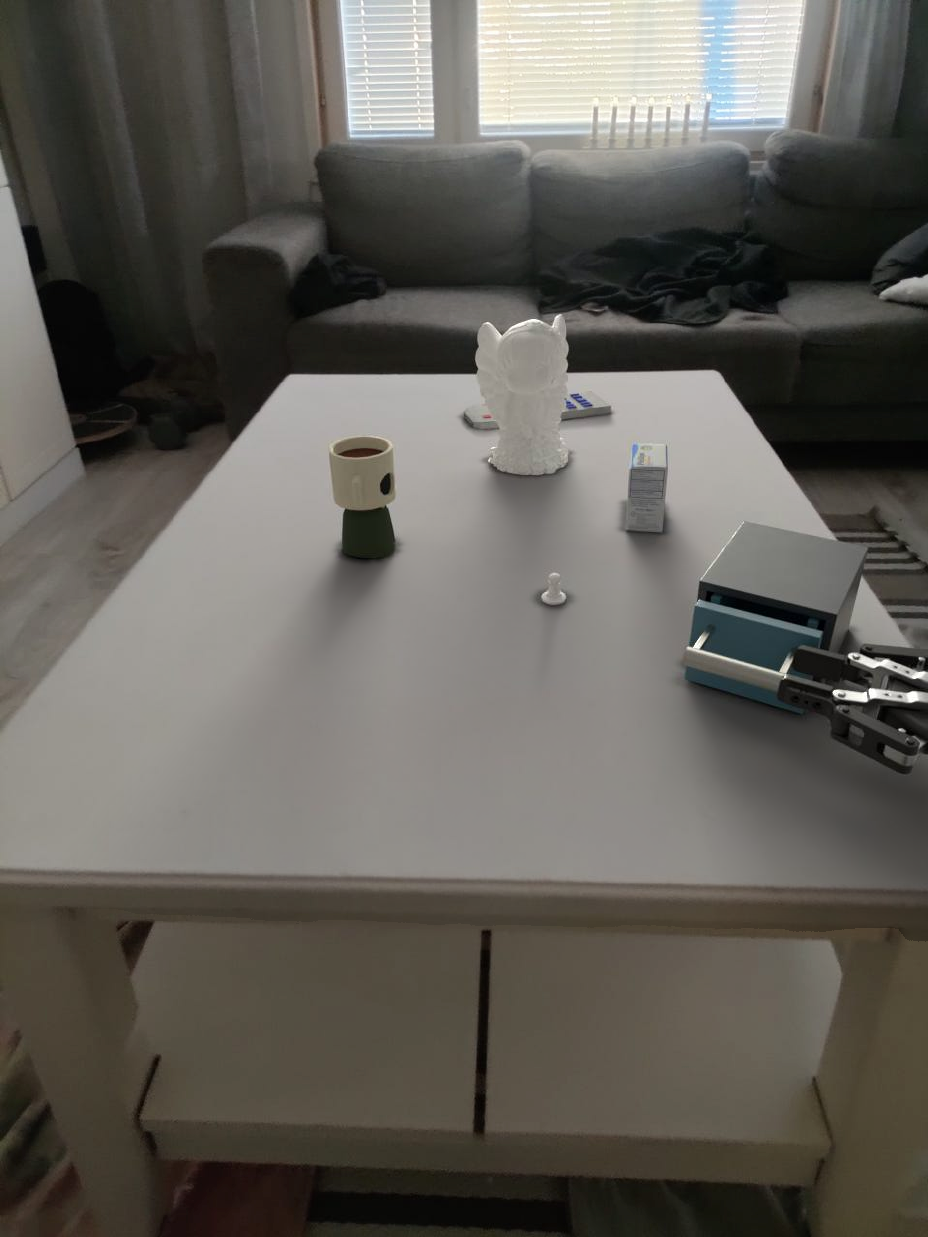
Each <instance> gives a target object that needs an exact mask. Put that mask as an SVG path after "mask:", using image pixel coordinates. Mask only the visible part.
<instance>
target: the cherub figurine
mask: <svg viewBox="0 0 928 1237" xmlns="http://www.w3.org/2000/svg"><path fill="white" fill-rule="evenodd" d="M566 337H567V324H566V320H565V317H564V315H563V314H558V315H556V316H555V317H554V319H553V322H552V325H550V324H548V323H547V322H544V321H542V320H540V319H535V318H533V319H527V320H525V321H522V322H520V323H517V324H514V325H513V326H511V327H510V328H508V330H506V331H505V332H504V333H503V334H501V333H500V332H499V331H498V330H497V328H496V327H495V326H494V325H493V324H492V323H490V322H483V323H482V324H481V326H480V328H479V329H478V332H477V338H476V340H477V345H478V347H477V349H476V351H475V357H474V360H475V364H476V367H477V371H476V376H475V377H476V381H477V382H476V383H477V384H478V385H479V386H480V387H479V393H480V396H481V398H483V399H484V404H485V405H486V407H487V409H488V410H489V411H490V416H491V418H492V419H493V420H494V421H496V422H497V424H498V427H499V430H498V435H499V440H498V442H497V446H495V447H491V448H490V452H491V453H492V457H489V458H488V464H491V465H493V467H495V468H496V469H497V470H498V471H500V472H506V473H507V474H508V473H509V474H514V475H521V476H529V475H532V476H542V475H543V474H547V475H551V474H554V473H556V471H557V470H558V469H560V468H564V467H565V466H566V465H567V463H569V459H568V457H569V456H568V455H569V450H568V447H567V443H566V442H564V440H565V439H564V437H561V435H560V431H561V429H560V427H559V423H561V422H562V420H561V417H560V416H561V411H562V410H564V409H565V408H566V401H565V397H566V396H567V394H569V389H568V387H567V383H568V380H569V375H568V373H567V371H568V367H569V363H568V359H567V357H568V354H569V351H570V348H569V344H568V341H567V339H566Z"/></svg>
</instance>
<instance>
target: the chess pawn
mask: <svg viewBox="0 0 928 1237" xmlns="http://www.w3.org/2000/svg"><path fill="white" fill-rule="evenodd" d="M547 579H548V580H547V584H548V585H549V587H548V589H547V590H546V591H545V592H543V593H542V594H541V601H542V602H543V603H545V604H547V605H551V606H558V605H562V604H563V603H565V602H566V601H567V600H566V599H567V595H566V594H565V592H562V590H561V589H560V587H559V586H560V585H561V580H562V579H561V575H560V574H559V573H557V572H552V573H550V574H549V575H548V578H547Z"/></svg>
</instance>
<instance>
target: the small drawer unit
mask: <svg viewBox="0 0 928 1237" xmlns="http://www.w3.org/2000/svg"><path fill="white" fill-rule="evenodd" d="M868 552H869V546H866V545H865V546H864V545H860V544H856V543H851V542H846V541H841V540H836V539H831V538H826V537H821V536H817V535H812V534H808V533H802V532H797V531H794V530H789V529H783V528H780V527H779V528H778V527H775V526H770V525H764V524H760V523H757V522H756V523H755V522H751V521H746V520H744V521H743V522H742V523H741V525H740V526H739V527H738V529H737V530H736V531H735V532H734V534H733V535H732V537H731V538H730V539H729V541H728V542H727V543H726V544H725V546H724V547H723V549H722V550H721V551H720V552H719V554H718V556H717V557H716V558H715V559H714V561H713V562H712V563H711V565H710V566H709V567H708V569H707V570H706V571H705V573H704V574H703V576H702V577H701V578H700V579H699V582H698V590H697V597H696V603H697V602H698V601H699V600H702V601H706V602H710V603H711V597H712V595H713V594H714V593H719V594H723V595H727V596H731V597H735V598H739V599H743V600H747V601H751V602H755V603H759V604H763V605H767V606H771V607H775V608H779V609H783V610H787V611H791V612H795V613H799V614H803V615H807V616H811V617H815V618H819V619H823V620H826V621H825V626H824V630H823V635H822V640H821V644H820V648H819V649H822V650H825V651H830V652H834V653H838V654H839V652H840V650H841V647H842V645H843V643H844V640H845V639H846V636H847V633H848V631H849V629H850V624H851V620H852V616H853V612H854V609H855V604H856V601H857V600H856V599H857V596H858V592H859V588H860V584H861V581H862V580H861V579H862V576H863V572H864V568H865V564H866V559H867V555H868ZM812 681H815V682H818V683H822V684H825V685H826V682H827V680H825V679H821V678H818V677H814V676H813V679H812Z"/></svg>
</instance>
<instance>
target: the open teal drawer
mask: <svg viewBox="0 0 928 1237" xmlns="http://www.w3.org/2000/svg"><path fill="white" fill-rule="evenodd" d="M825 621H826V620H823V619H819V618H815V617H811V616H807V615H803V614H799V613H795V612H791V611H787V610H783V609H779V608H775V607H771V606H767V605H763V604H759V603H755V602H751V601H747V600H743V599H739V598H735V597H731V596H727V595H723V594H719V593H714V594H713V595H712V597H711V603H710V602H706V601H702V600H699V601H698V602H697V601H696V603H695V605H694V608H693V615H692V623H691V630H690V635H689V636H690V637H689V645H688V646H687V647H686V649H685V651H684V655H683V657H682V665H683V666H685V673H684V680H686V681H689V682H694V683H697V684H699V685H704V686H707V687H710V688H714V689H717V690H720V691H724V692H727V693H730V694H733V695H737V696H740V697H743V698H746V699H747V698H748V699H750V700H753V701H757V702H760V703H764V704H767V705H770V706H774V707H777V708H780V709H784V710H787V711H789V712H794V713H797V714H800V715H803V714H804V712H805V710H803V709H800V708H798V707H793V706H790V705H788V704H786V703H783V702H781V701H779V700H778V698H777V693H778V688H779V683H780V681H781V679H782V677H783V676H784V675H786V674H789V675H793V676H797V677H800V678H804V679H807V680H811V681H812V679H813V676H811V675H807V674H803V673H800V672H796V671H795V670H793V668H792V665H793V658H794V653H795V651H796V649H797V647H798V646H799V645H806V646H809V647H815V648H820V644H821V640H822V635H823V630H824V626H825Z"/></svg>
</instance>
